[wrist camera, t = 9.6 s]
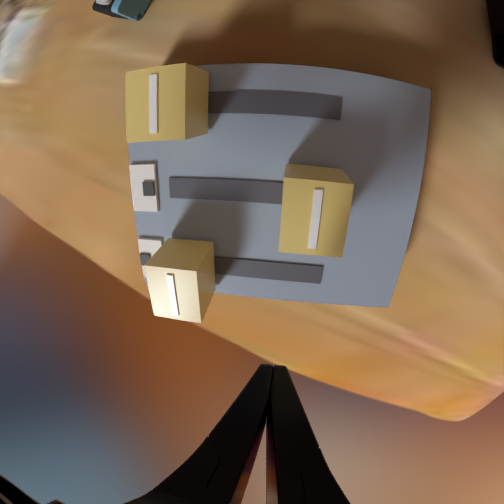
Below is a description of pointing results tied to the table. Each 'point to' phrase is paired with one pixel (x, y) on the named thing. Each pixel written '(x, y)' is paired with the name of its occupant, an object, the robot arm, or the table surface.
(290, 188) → the slider
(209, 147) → the switch unit
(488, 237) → the table surface
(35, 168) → the table surface
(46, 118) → the table surface
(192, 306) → the slider
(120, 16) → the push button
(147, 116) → the slider
